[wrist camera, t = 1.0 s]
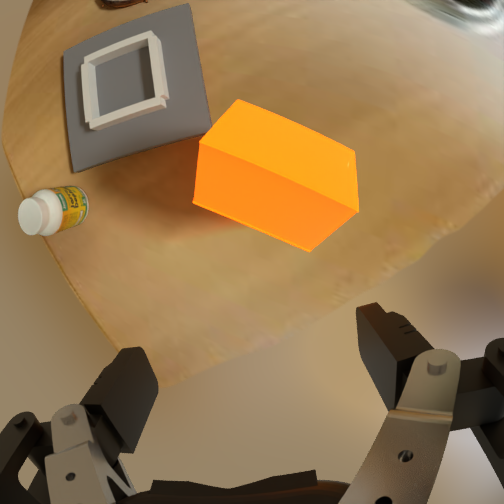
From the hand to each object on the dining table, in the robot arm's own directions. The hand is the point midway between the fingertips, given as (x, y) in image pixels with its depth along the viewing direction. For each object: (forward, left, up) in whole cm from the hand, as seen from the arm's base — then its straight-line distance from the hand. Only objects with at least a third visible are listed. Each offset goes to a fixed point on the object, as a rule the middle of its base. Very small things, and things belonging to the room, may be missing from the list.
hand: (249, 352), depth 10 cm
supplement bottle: (-8, -22, -26) cm, 35 cm away
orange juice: (-6, +3, -26) cm, 26 cm away
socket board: (-21, -11, -25) cm, 35 cm away
